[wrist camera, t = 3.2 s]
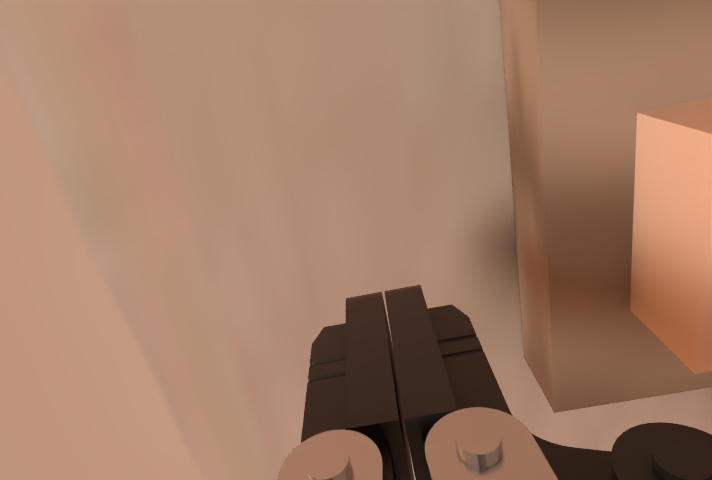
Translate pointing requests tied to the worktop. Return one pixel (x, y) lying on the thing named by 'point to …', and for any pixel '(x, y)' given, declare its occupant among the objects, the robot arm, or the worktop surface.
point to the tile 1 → (674, 229)
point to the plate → (592, 183)
